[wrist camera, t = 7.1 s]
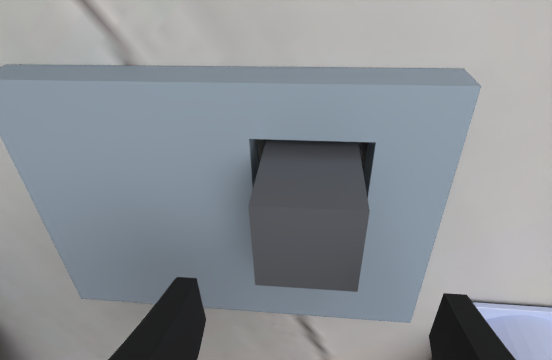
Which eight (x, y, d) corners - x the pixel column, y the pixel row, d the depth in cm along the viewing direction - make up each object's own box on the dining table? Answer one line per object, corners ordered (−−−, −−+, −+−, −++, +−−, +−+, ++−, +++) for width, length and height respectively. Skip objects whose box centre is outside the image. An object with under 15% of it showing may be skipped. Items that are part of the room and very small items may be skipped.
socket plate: (403, 294, 23) (410, 322, 21) (97, 273, 25) (81, 298, 23) (463, 68, 15) (480, 86, 13) (6, 64, 17) (-28, 79, 15)
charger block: (348, 198, 19) (357, 292, 14) (272, 195, 20) (255, 285, 15) (356, 128, 17) (369, 211, 12) (269, 126, 17) (248, 205, 12)
